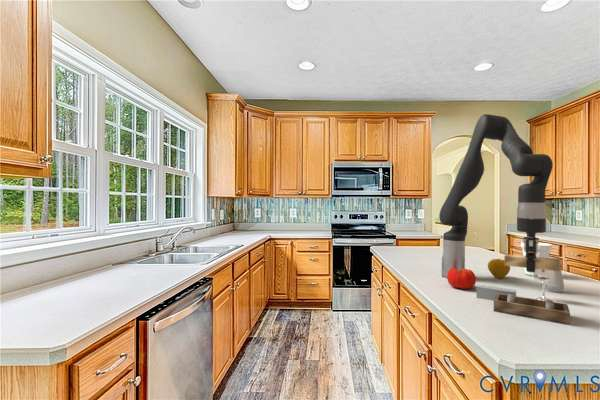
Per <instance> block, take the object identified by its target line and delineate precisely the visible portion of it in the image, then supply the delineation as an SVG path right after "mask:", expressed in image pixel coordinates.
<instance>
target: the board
mask: <svg viewBox="0 0 600 400" xmlns="http://www.w3.org/2000/svg"><path fill="white" fill-rule="evenodd" d="M555 258H556V257H549V258H544V257H536V260H535V269H544V270H553V271H560V267H561V265H560V261H559V259H560V258H558V259H555ZM503 260H504V265H506V266H510V267H517V268H524V267H525V268H526V262H527V259H526V257H525V256H523V254H522V255H520V254H519V255H518V254H509V253H508V254H507V253H505V254H504V259H503ZM525 268H524V269H525Z"/></svg>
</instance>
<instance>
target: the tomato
mask: <svg viewBox="0 0 600 400" xmlns="http://www.w3.org/2000/svg"><path fill="white" fill-rule="evenodd" d="M446 280H447V282H448V284H449V285H450V286H451V287H453V288H455V289H461V290H466V289H470V288H473V287H475V285H476V283H477V276H476V274H475V273H474V271H473V270H471V269H467V268H465V269H464V268H463V269H459V270H457V269H455V268H452V269H450V270H449V271H448V273H447V278H446Z"/></svg>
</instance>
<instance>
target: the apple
mask: <svg viewBox="0 0 600 400" xmlns="http://www.w3.org/2000/svg"><path fill="white" fill-rule="evenodd" d="M487 269H488V271H489V273H491V275H492V276H493V277H494V278H496V279H499V278H502V279H504V278H505V277H506V276H507V275H508V274H509V273H510V271H511V266H506V265H504V259H501V258H493V259H491V260H490V261H488V263H487Z"/></svg>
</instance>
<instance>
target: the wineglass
mask: <svg viewBox="0 0 600 400" xmlns="http://www.w3.org/2000/svg"><path fill="white" fill-rule="evenodd" d="M533 278H534V279H535V282H537V283H540V284H541V285H542V286H541V289H542V296H536V297H535V299H538V300H544V301H546V300H551V301H552V299H551V298H548V297H546V296H545V292H546V290H545V289H546V284H549V283H551V282H553V280H554V273H553V270H544V269H535V272H534V277H533Z"/></svg>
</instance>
